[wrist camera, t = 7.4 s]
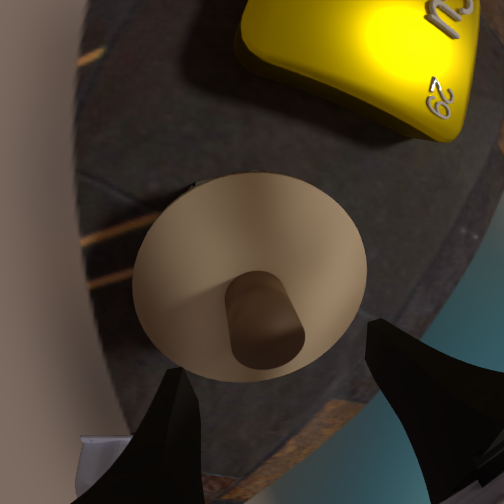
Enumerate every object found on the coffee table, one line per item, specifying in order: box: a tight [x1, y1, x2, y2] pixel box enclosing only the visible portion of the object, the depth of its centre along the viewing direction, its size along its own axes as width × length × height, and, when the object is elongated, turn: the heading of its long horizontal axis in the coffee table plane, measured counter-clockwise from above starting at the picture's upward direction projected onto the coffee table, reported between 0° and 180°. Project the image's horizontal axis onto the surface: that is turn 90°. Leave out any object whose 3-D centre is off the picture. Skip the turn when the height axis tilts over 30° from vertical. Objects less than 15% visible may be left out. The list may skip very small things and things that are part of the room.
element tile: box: [233, 0, 480, 143], centre depth 13 cm, size 15×15×5 cm
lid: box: [132, 171, 367, 382], centre depth 14 cm, size 12×12×4 cm
